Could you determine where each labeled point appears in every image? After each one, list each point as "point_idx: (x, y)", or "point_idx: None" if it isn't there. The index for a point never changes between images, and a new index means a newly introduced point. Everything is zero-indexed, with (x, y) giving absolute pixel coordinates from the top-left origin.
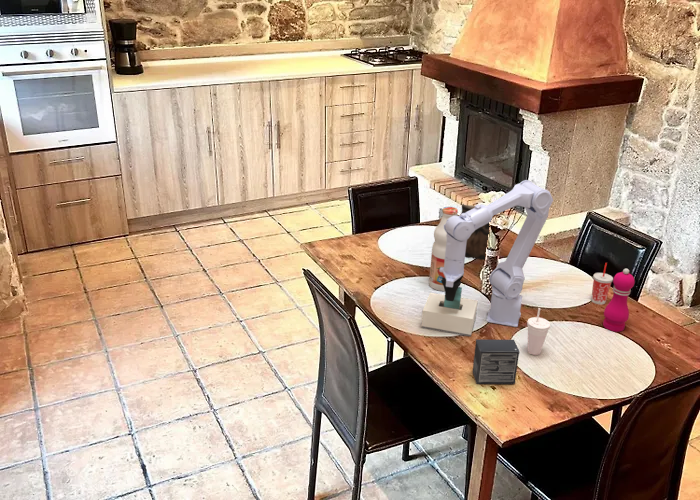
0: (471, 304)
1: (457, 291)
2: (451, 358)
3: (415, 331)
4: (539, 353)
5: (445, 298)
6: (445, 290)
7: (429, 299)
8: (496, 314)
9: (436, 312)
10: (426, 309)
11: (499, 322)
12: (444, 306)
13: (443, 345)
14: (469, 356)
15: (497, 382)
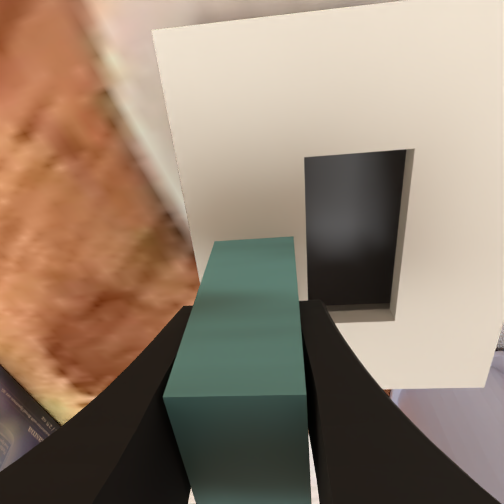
0: (413, 364)
1: (200, 494)
2: (8, 273)
3: (125, 9)
4: None
5: (199, 299)
6: (86, 412)
7: (418, 26)
8: (415, 419)
9: (183, 169)
10: (190, 62)
11: (396, 400)
12: (213, 248)
13: (84, 219)
14: (75, 331)
15: None
